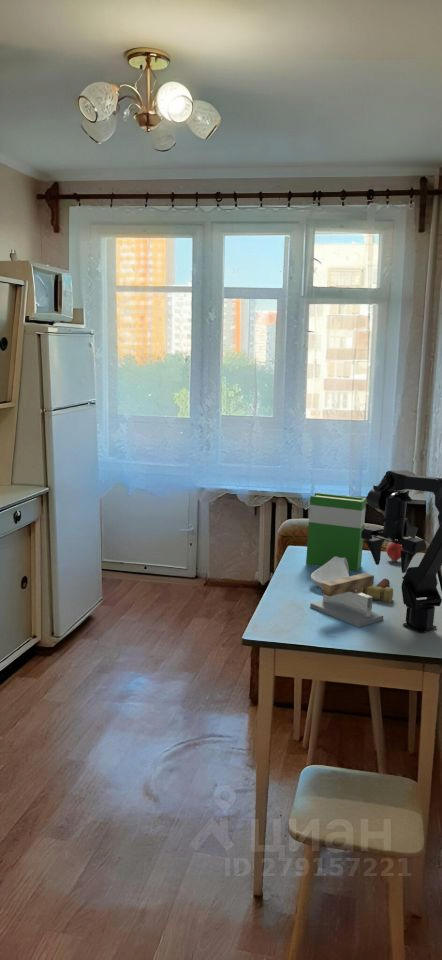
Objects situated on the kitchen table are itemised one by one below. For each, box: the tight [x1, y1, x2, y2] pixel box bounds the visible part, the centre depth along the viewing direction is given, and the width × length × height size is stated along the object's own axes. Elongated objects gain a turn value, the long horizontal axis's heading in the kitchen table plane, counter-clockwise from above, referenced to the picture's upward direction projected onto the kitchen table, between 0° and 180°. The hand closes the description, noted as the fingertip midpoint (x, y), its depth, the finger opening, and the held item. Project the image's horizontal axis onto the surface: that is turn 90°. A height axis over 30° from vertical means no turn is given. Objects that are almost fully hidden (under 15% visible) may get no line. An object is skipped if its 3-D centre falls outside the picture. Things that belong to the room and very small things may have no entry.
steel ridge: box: [322, 581, 374, 619], centre depth 198 cm, size 16×2×6 cm, turn 39°
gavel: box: [356, 578, 394, 604], centre depth 219 cm, size 21×5×10 cm
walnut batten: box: [321, 572, 375, 596], centre depth 197 cm, size 18×3×3 cm, turn 129°
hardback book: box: [305, 492, 367, 573], centre depth 244 cm, size 18×7×24 cm, turn 69°
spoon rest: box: [310, 556, 350, 590], centre depth 226 cm, size 24×12×7 cm, turn 159°
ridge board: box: [309, 599, 384, 628], centre depth 198 cm, size 18×10×1 cm, turn 39°
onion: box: [386, 542, 404, 562], centre depth 253 cm, size 6×6×8 cm
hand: (390, 568), depth 201 cm, fingers open, 9 cm apart
